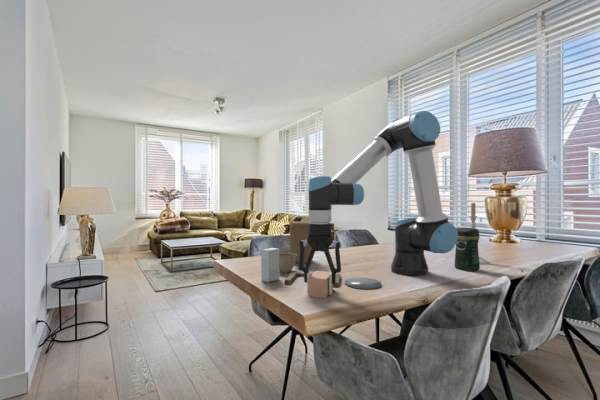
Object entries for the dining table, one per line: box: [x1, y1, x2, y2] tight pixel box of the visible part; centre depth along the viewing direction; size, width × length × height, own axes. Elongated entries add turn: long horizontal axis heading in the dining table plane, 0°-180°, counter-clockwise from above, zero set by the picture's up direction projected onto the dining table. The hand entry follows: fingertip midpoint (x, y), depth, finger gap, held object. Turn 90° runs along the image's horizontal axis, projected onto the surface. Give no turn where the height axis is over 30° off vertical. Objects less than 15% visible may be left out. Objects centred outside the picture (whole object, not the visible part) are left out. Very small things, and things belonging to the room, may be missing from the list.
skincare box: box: [260, 247, 280, 283], centre depth 117 cm, size 6×4×12 cm
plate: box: [344, 277, 382, 290], centre depth 111 cm, size 13×13×1 cm
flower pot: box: [279, 252, 297, 273], centre depth 132 cm, size 10×10×7 cm
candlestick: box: [469, 202, 489, 265], centre depth 152 cm, size 13×13×30 cm
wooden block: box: [289, 220, 311, 264], centre depth 152 cm, size 10×10×20 cm
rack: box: [284, 271, 342, 288], centre depth 116 cm, size 20×14×2 cm
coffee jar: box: [454, 227, 481, 272], centre depth 136 cm, size 10×8×19 cm
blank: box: [307, 270, 334, 299], centre depth 101 cm, size 6×10×6 cm, turn 162°
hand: (319, 292), depth 100 cm, fingers open, 6 cm apart
